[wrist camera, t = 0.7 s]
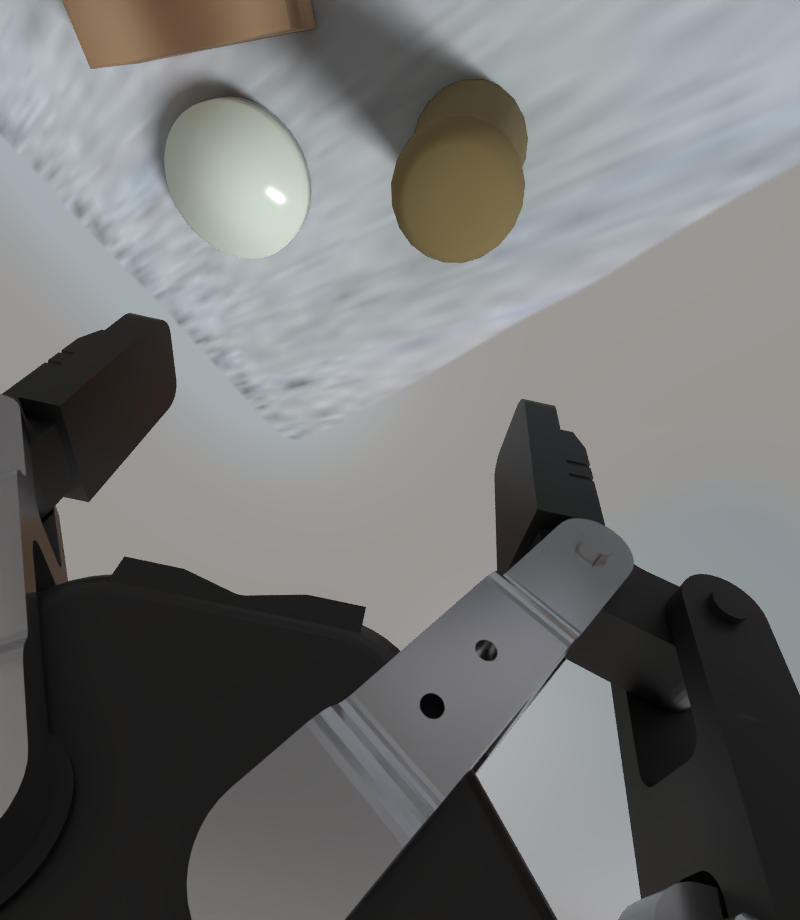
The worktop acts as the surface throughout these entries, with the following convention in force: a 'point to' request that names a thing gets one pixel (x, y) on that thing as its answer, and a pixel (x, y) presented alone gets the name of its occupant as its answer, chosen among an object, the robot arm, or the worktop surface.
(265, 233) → the white domed disc
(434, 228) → the olive stamp handle
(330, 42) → the worktop surface
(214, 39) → the walnut plinth
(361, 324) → the worktop surface
